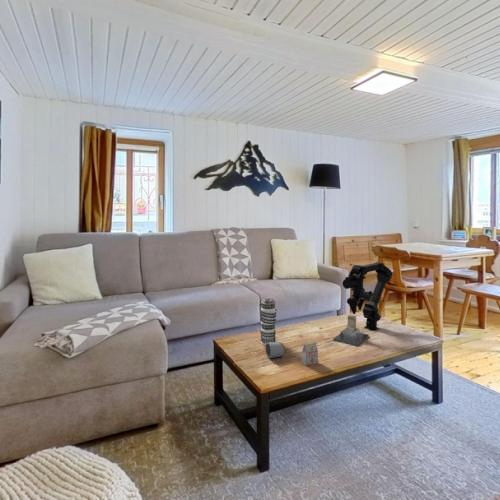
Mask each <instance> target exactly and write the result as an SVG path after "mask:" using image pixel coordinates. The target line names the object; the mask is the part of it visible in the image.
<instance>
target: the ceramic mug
mask: <svg viewBox="0 0 500 500" xmlns="http://www.w3.org/2000/svg"><path fill="white" fill-rule="evenodd" d="M285 349H286V348H285V345H284V343H283V342H280V341H275V342H269V343H267V344H266V345H265V355H266V357H267V358H268V359H274V358H281V357H283V356H284V355H285V353H286V350H285Z"/></svg>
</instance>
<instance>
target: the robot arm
mask: <svg viewBox="0 0 500 500" xmlns="http://www.w3.org/2000/svg"><path fill="white" fill-rule="evenodd" d="M374 271H375V273H376V279H377V281H376V284H375V287H374V289H373V291H372V290H369V291H366V290H365V288H364V280H365V279H367V278H366V275H367V274H368V273H370V272H371V273H372V272H374ZM392 277H393V271H392V270H391V269H390V268H389V267H387V266H386V265H385V264H384V263H382V262H379V261H377V262H374V263H373V262H372V263H369V264H364V265H361V264H354V265H352V268H351V269H350V271H349V273H348V275H347V276H345V278H344V279H343V280H342V286H343V288H344V289H346V290H348V289H351V291H352V294H351V296H350V297H348V298H347V299H346V303H347V304H348V306H349V308H350V310H351V312H352V315H356V313H357V308H358V311H362V315H363V318H365V319H366V322H365V323H366V324H365V326H364V327H363V328H364V329H366V330H370V331H372V332H373V331H376V330H379V329H380V327H378V322H379V321H381V318H382V317H381V315H380V314H379V302H380V299H381V298H382V294H383V292H384V289H385V287H386V284H388V282H390V281H391V279H392ZM365 301H367V302H368V303H365V304H364V302H365ZM363 305H364V306H363Z"/></svg>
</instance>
